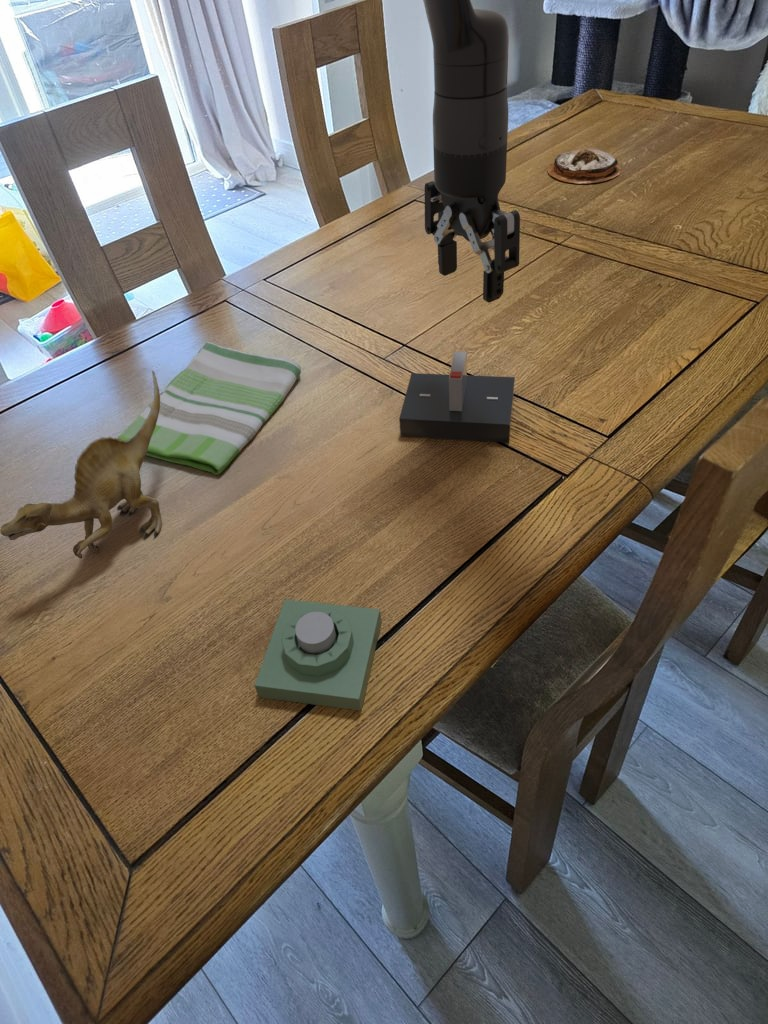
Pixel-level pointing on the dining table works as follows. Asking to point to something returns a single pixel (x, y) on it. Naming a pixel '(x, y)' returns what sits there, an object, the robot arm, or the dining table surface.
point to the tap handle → (457, 381)
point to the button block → (321, 658)
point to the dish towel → (216, 406)
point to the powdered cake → (584, 166)
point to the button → (315, 632)
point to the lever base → (476, 422)
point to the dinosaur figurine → (98, 489)
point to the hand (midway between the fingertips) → (469, 285)
